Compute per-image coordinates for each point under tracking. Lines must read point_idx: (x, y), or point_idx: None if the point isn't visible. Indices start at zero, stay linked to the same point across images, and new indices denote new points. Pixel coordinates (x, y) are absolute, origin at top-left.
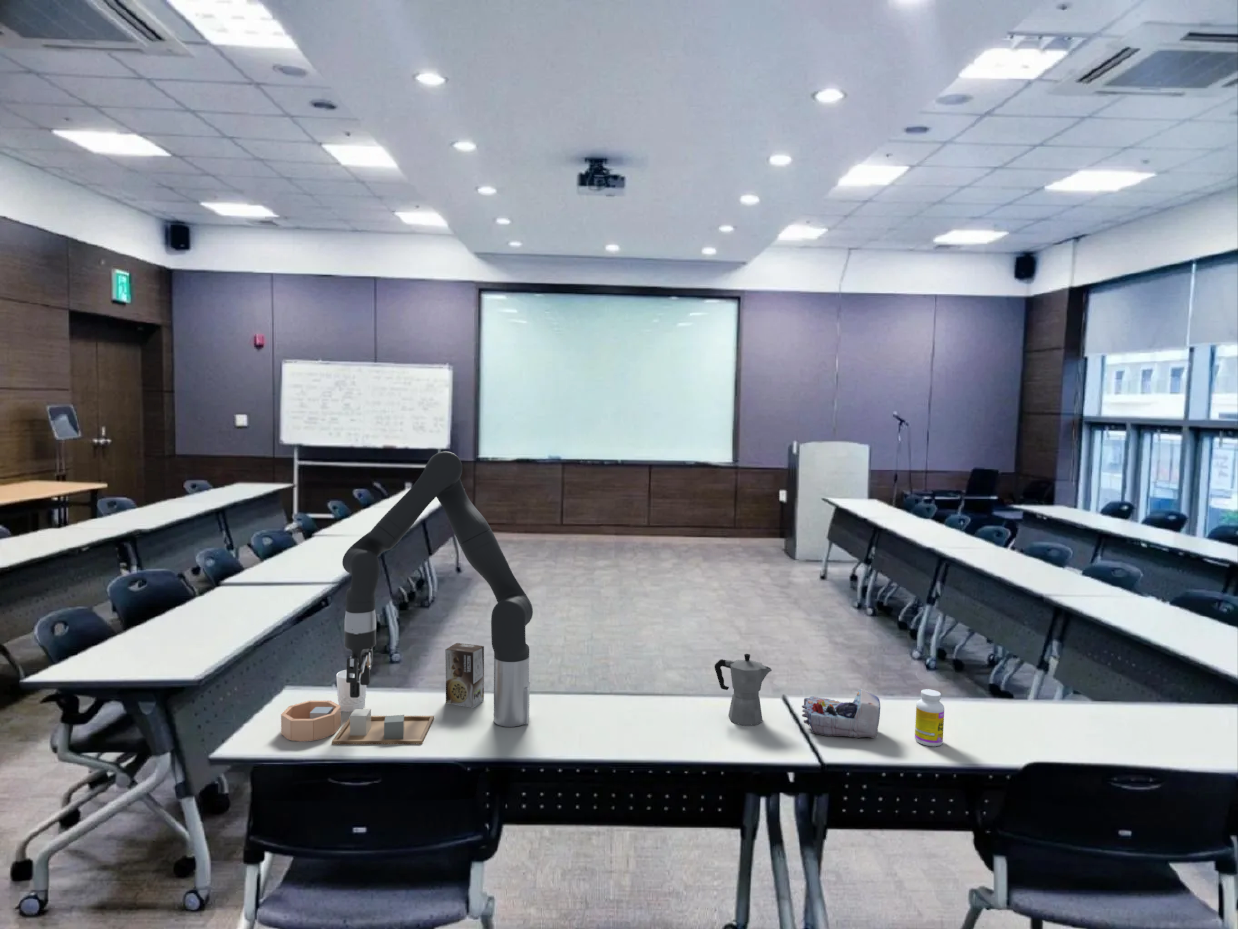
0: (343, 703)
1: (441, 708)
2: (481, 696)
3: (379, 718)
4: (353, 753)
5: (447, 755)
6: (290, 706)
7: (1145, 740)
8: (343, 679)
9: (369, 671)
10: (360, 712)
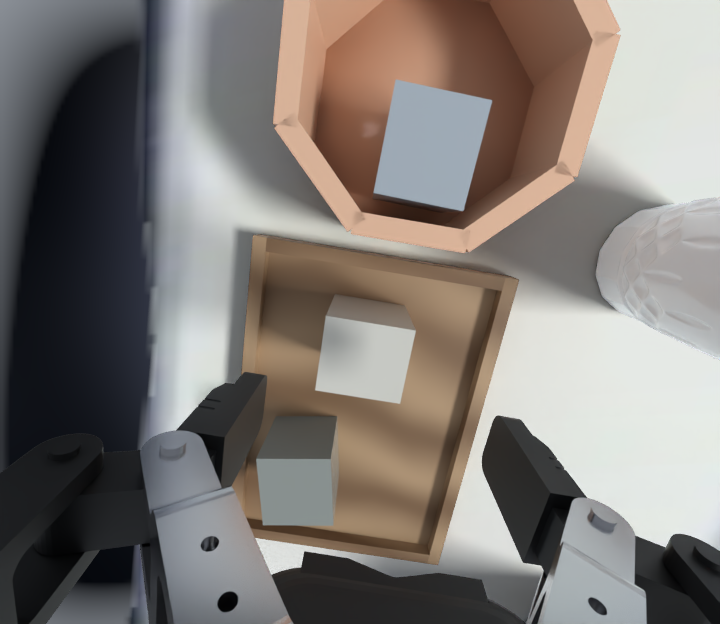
0: (641, 235)
1: (541, 567)
2: None
3: (472, 390)
4: (197, 320)
5: None
6: None
7: None
8: None
9: (535, 556)
10: (363, 361)
